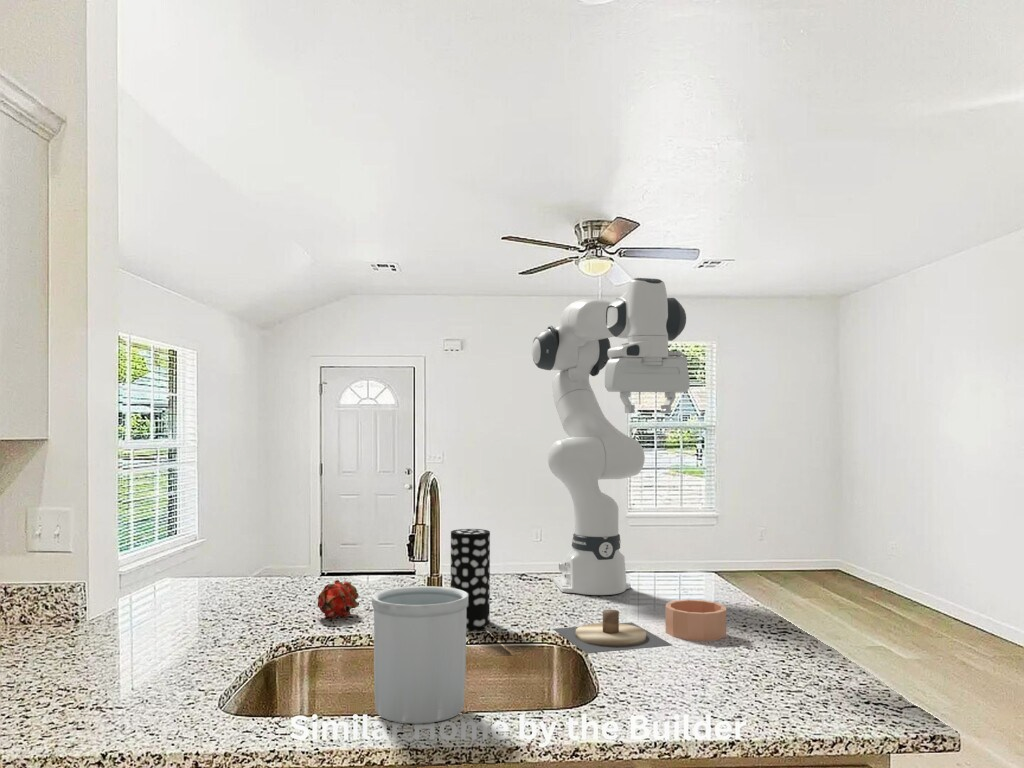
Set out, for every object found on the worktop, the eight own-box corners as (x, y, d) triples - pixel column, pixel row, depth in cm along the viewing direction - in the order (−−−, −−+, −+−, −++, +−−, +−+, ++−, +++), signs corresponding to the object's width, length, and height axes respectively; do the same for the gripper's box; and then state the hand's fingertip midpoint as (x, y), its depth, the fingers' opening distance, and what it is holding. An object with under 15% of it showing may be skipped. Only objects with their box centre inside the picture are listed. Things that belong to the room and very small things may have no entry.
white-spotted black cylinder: (484, 632, 175) (484, 535, 176) (445, 630, 177) (446, 533, 178) (493, 622, 184) (493, 529, 184) (456, 620, 185) (456, 528, 186)
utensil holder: (376, 692, 138) (376, 584, 139) (467, 691, 139) (468, 584, 140) (365, 727, 124) (366, 605, 124) (468, 725, 125) (468, 604, 125)
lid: (565, 630, 174) (565, 606, 174) (627, 625, 178) (627, 601, 179) (592, 649, 161) (592, 622, 161) (658, 643, 165) (658, 617, 165)
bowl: (655, 630, 177) (655, 602, 177) (706, 626, 181) (706, 598, 181) (684, 646, 166) (684, 615, 166) (737, 641, 169) (737, 611, 169)
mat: (552, 632, 175) (552, 628, 175) (631, 626, 181) (631, 622, 181) (586, 657, 158) (586, 652, 158) (672, 649, 164) (672, 645, 164)
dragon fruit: (354, 617, 194) (329, 638, 183) (325, 594, 195) (299, 613, 184) (372, 589, 192) (348, 609, 180) (343, 566, 193) (317, 584, 182)
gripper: (678, 352, 194) (678, 413, 194) (600, 349, 186) (601, 413, 185) (695, 350, 189) (695, 413, 188) (616, 347, 180) (616, 413, 180)
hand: (648, 413), depth 187 cm, fingers open, 8 cm apart
